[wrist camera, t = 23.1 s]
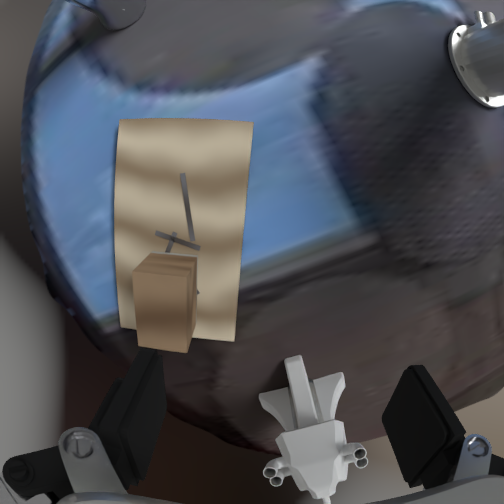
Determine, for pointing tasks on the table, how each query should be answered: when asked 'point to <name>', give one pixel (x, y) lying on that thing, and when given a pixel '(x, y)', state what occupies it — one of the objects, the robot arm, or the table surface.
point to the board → (183, 209)
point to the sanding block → (166, 300)
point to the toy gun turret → (310, 432)
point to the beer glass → (113, 11)
